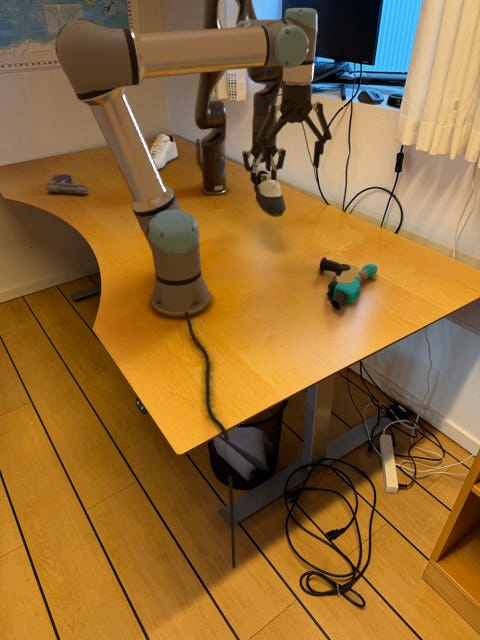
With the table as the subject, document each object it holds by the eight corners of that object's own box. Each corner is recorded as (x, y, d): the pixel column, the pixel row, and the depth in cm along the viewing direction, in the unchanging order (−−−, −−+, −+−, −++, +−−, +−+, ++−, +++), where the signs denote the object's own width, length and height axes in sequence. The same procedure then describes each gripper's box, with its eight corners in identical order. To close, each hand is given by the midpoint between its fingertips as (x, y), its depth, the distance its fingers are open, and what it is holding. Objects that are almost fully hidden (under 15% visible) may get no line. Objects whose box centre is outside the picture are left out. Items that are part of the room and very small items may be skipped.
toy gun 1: (101, 183, 198) (84, 197, 186) (60, 181, 201) (41, 194, 189) (99, 174, 195) (82, 188, 184) (58, 172, 199) (39, 185, 187)
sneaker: (133, 173, 208) (129, 144, 201) (161, 153, 230) (158, 127, 223) (155, 175, 205) (151, 146, 198) (180, 155, 227) (178, 129, 220)
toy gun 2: (296, 289, 121) (353, 304, 115) (329, 248, 140) (380, 259, 134) (295, 304, 124) (351, 319, 118) (328, 261, 142) (377, 273, 136)
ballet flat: (263, 219, 141) (264, 192, 136) (245, 190, 160) (246, 165, 155) (289, 217, 142) (291, 190, 137) (269, 188, 161) (270, 164, 156)
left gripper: (339, 78, 122) (330, 161, 135) (244, 81, 119) (244, 166, 131) (350, 83, 116) (340, 169, 129) (251, 87, 113) (250, 175, 125)
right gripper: (283, 124, 149) (281, 176, 159) (239, 126, 147) (239, 180, 157) (290, 130, 143) (287, 184, 153) (244, 133, 141) (244, 188, 151)
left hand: (292, 168), depth 130 cm, fingers open, 13 cm apart
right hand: (263, 182), depth 155 cm, fingers closed on ballet flat, 5 cm apart
